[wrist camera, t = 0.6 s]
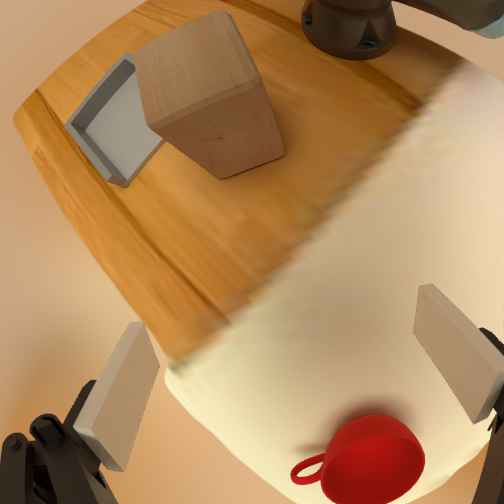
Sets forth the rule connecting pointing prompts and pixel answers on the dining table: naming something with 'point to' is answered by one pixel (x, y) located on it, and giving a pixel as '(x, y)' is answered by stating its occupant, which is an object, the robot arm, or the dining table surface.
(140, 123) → the end cap cradle
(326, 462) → the ceramic cup
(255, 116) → the wooden block
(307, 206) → the dining table surface
